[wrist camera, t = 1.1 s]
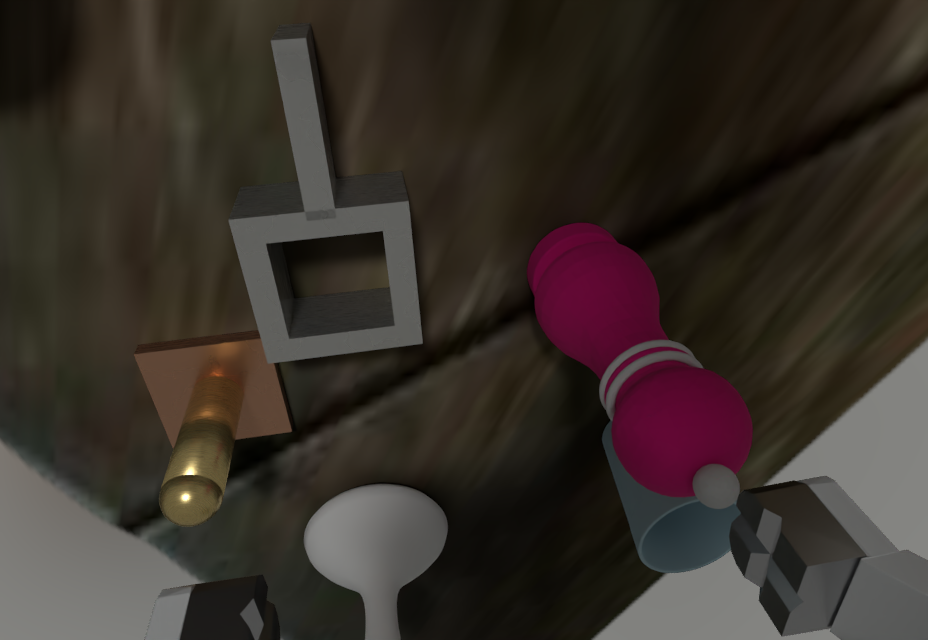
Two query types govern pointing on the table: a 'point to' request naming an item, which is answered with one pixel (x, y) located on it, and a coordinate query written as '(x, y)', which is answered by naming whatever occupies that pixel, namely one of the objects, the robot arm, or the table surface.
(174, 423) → the post
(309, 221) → the steel link
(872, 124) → the table surface
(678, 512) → the cup
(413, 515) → the flower in vase
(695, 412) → the pepper mill
